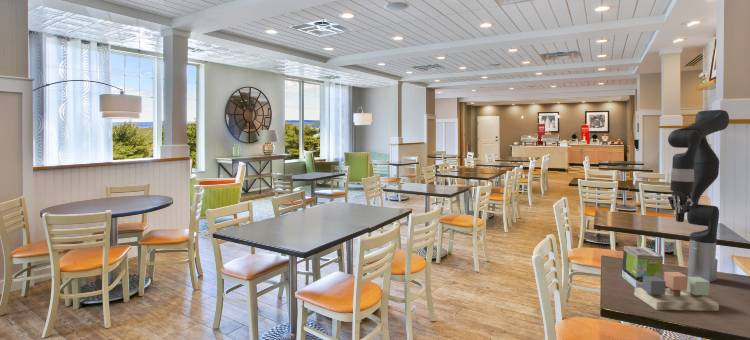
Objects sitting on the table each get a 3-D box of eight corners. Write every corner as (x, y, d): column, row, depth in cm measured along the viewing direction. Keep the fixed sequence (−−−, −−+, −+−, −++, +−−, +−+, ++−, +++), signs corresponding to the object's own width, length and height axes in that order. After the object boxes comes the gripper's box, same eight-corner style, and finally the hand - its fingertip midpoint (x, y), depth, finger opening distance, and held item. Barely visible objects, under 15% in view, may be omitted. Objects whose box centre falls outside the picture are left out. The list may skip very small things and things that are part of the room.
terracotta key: (677, 284, 159) (678, 271, 158) (687, 289, 154) (687, 276, 153) (663, 284, 159) (664, 271, 159) (672, 289, 154) (673, 276, 154)
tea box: (662, 290, 169) (664, 256, 167) (635, 289, 171) (636, 254, 169) (645, 278, 183) (647, 246, 182) (621, 276, 185) (622, 245, 184)
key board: (690, 295, 163) (692, 278, 163) (718, 310, 150) (719, 292, 149) (634, 294, 165) (635, 278, 164) (656, 309, 151) (657, 291, 150)
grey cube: (656, 289, 160) (656, 276, 159) (664, 294, 154) (665, 281, 154) (642, 289, 160) (643, 276, 159) (650, 294, 155) (651, 281, 154)
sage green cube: (698, 289, 159) (699, 276, 158) (708, 295, 154) (709, 281, 153) (684, 289, 159) (685, 276, 159) (694, 294, 154) (695, 281, 153)
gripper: (704, 181, 159) (701, 225, 160) (680, 177, 172) (678, 218, 173) (684, 181, 159) (681, 225, 161) (662, 177, 172) (659, 218, 174)
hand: (679, 221), depth 167 cm, fingers closed
